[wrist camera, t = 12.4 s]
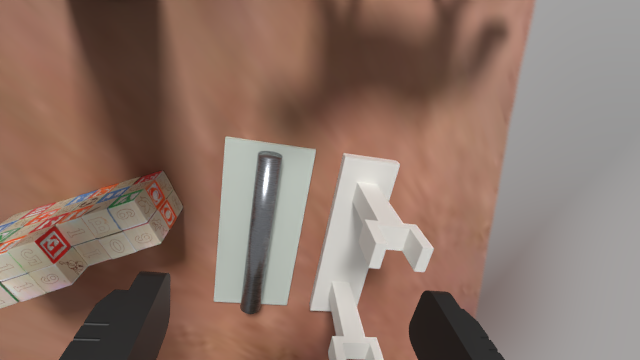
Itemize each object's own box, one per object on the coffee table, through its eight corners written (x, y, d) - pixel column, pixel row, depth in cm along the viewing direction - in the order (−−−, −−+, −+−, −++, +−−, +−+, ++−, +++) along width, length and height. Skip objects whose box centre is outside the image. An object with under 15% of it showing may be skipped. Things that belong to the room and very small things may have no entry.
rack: (309, 303, 55) (320, 402, 40) (343, 153, 44) (376, 211, 29) (353, 305, 56) (380, 402, 41) (396, 160, 45) (453, 219, 31)
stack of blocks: (163, 167, 42) (121, 214, 31) (184, 206, 45) (153, 262, 34) (12, 214, 42) (-83, 277, 31) (42, 250, 45) (-36, 320, 34)
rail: (259, 298, 52) (261, 313, 50) (240, 299, 51) (240, 314, 49) (280, 152, 42) (284, 160, 40) (257, 149, 42) (258, 158, 39)
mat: (214, 298, 52) (213, 301, 51) (226, 136, 41) (225, 137, 41) (286, 302, 54) (286, 305, 53) (315, 149, 43) (316, 150, 43)
